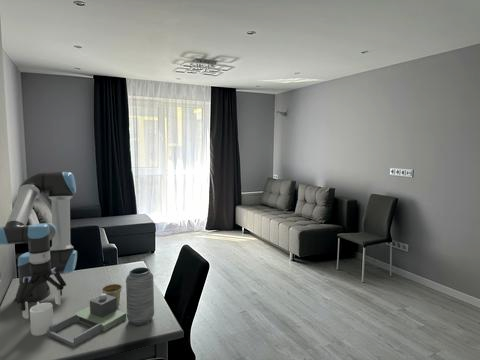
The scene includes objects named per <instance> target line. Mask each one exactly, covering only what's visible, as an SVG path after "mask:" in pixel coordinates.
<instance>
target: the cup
mask: <svg viewBox="0 0 480 360" xmlns="http://www.w3.org/2000/svg"><path fill="white" fill-rule="evenodd" d="M53 306H54V305H53V303H52V302H42V303H40V302H39V301H37V302H36V304H35V305H33V306H31V307H30V309H29V317H30V319H29V320H30V333H31V335H32V336H43V335H45V334H46V335H47V331H49V327H50V326H52V325H54V324H55V323H54V309H53Z"/></svg>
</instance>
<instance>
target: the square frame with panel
mask: <svg viewBox="0 0 480 360" xmlns="http://www.w3.org/2000/svg"><path fill="white" fill-rule="evenodd" d="M126 319H127V312H123V311H121V310H118V306H117V299H116V297H113V296H110V295H107V294H105V293H103V292H102V293H100V294H99V296H97V297H95V298H93V299H91V300H89V306H88V307H86V308H84V309H81V310H79V311H77V312H75V313H73V315H71V316H69V317H66V318H65V319H63V320H61V321H58V322H56V323H54V325H52V326H50V327H49V331H47V333H46V335H47V336H49V337H51V338H53V339H55V340H58V341H60V342H62V343H64V344H66V345H69V346H71V347H76V346H78V345H79V344H81V343H83V342H84V341H86V340H88V339H89V338H92V337H93V336H95V335H96V334H98V333H100V332H101V331H102V332H105V331H107V330H109V329H111V328H113V327H114V326H116V325H118V324H119V323H121V322H123V321H124V320H126ZM76 322H80V323H82V324H85V325H87V326H90V328H88V329H87V330H84V331H83V332H81V333H80V334H78V335H76V336H74V337H73V339H70V338H69V337H68V338H67V337H66V336H63V335H61V334H59V333H58V332H59V331H61V330H62V329H64V328H66V327H68V326H70V325H72V324H74V323H76ZM56 332H57V333H56Z"/></svg>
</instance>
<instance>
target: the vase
mask: <svg viewBox="0 0 480 360" xmlns="http://www.w3.org/2000/svg"><path fill="white" fill-rule="evenodd" d="M150 270H151V269H149V267H146V266H145V267H135V268H133V269H130V270H129V272H128V274H127V276H126V277H125V285H126V286H125V287H126V289H125V290H126V293H125V294H126V319H127V320H128V321H129V322H130V323H131V324H132V325H134V326H142V325H147V324H149V322H150V321H151V320H152V319H153V317H154V316H155V295H154V294H155V293H154V292H155V290H154V289H155V288H154V287H155V286H154V274H153V273H152V272H151V271H150Z"/></svg>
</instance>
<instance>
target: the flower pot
mask: <svg viewBox="0 0 480 360" xmlns="http://www.w3.org/2000/svg"><path fill="white" fill-rule="evenodd" d="M122 288H123V285H122V284H119V283H113V284H111V283H110V284H107V285H104V287H102V288H101V292H102V294H103V293H105V294H107V295H110V296H113V297H116V299H117V307H118V306H119V304H120V301H121V292H122Z"/></svg>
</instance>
